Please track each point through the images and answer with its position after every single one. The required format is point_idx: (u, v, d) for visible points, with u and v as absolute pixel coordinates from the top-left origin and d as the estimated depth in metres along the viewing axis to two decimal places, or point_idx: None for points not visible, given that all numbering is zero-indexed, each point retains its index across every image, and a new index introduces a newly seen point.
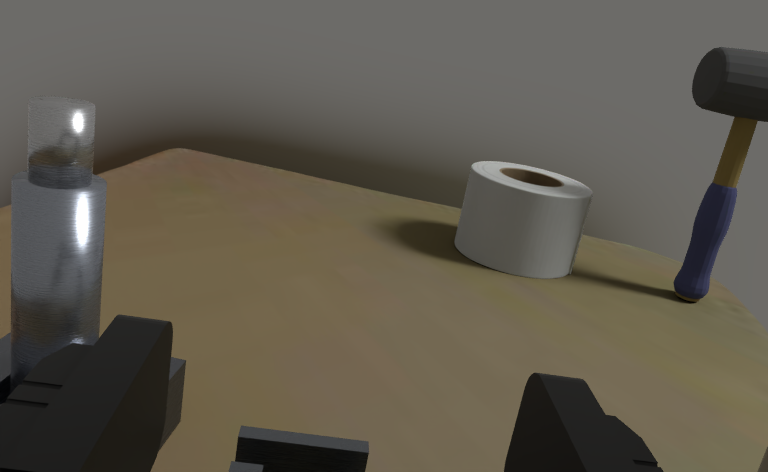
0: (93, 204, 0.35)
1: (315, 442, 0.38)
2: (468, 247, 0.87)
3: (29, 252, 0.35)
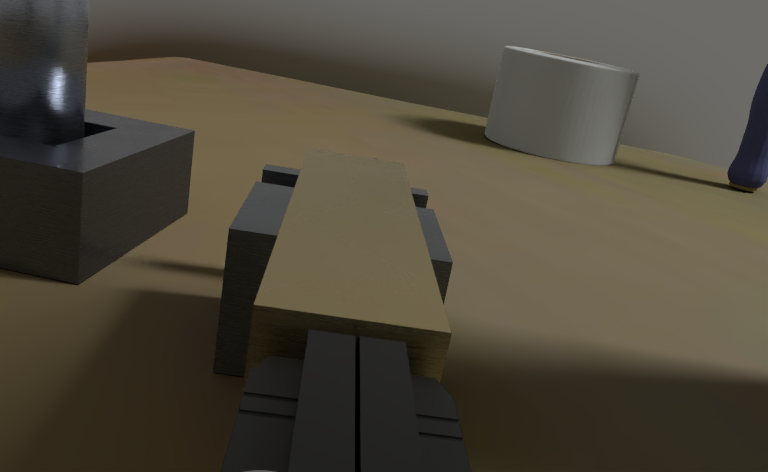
0: None
1: None
2: (501, 133, 0.79)
3: None
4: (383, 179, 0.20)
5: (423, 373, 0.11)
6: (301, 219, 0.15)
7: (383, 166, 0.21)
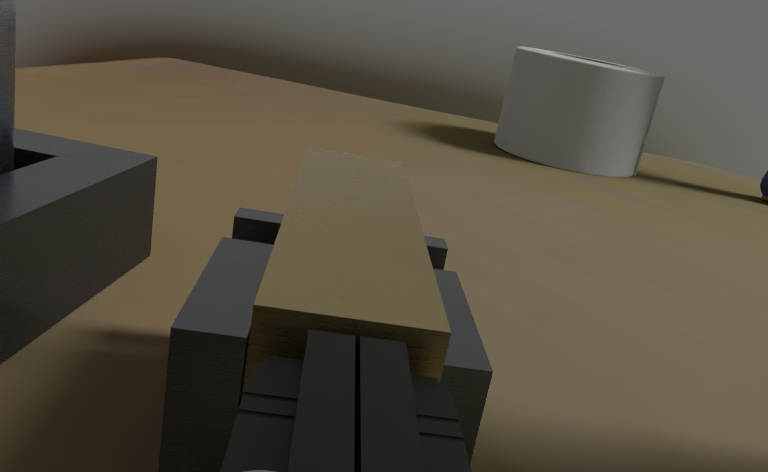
0: None
1: None
2: (513, 141, 0.72)
3: None
4: (382, 177, 0.20)
5: (423, 372, 0.11)
6: (301, 218, 0.15)
7: (382, 164, 0.21)
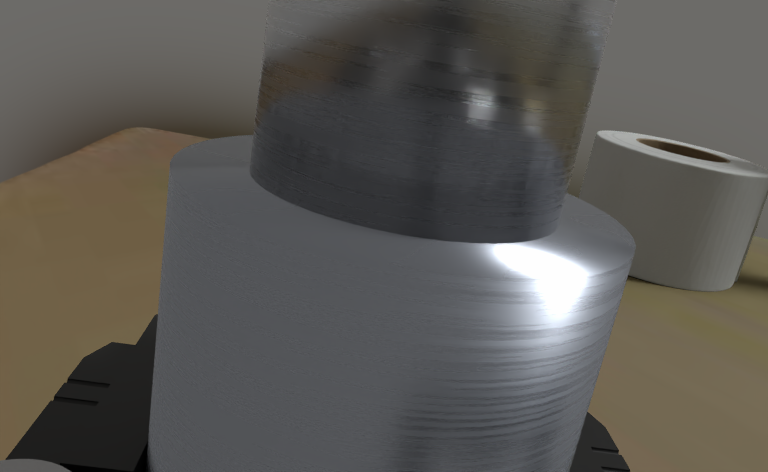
0: None
1: None
2: None
3: None
4: None
5: None
6: None
7: None
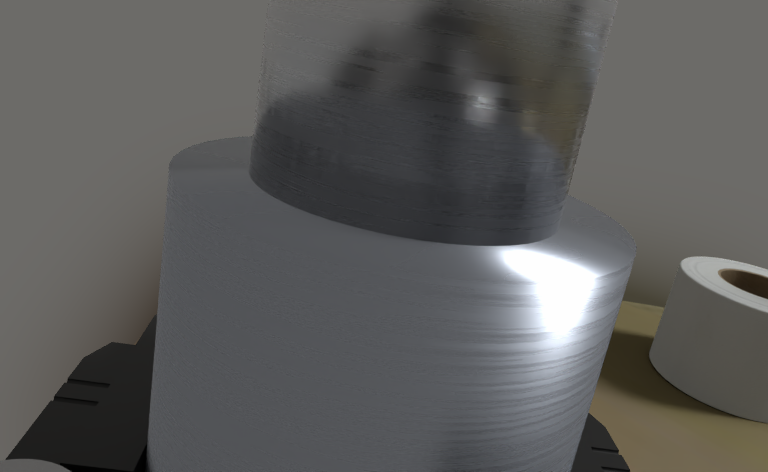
0: None
1: None
2: (695, 385, 0.66)
3: None
4: None
5: None
6: None
7: None
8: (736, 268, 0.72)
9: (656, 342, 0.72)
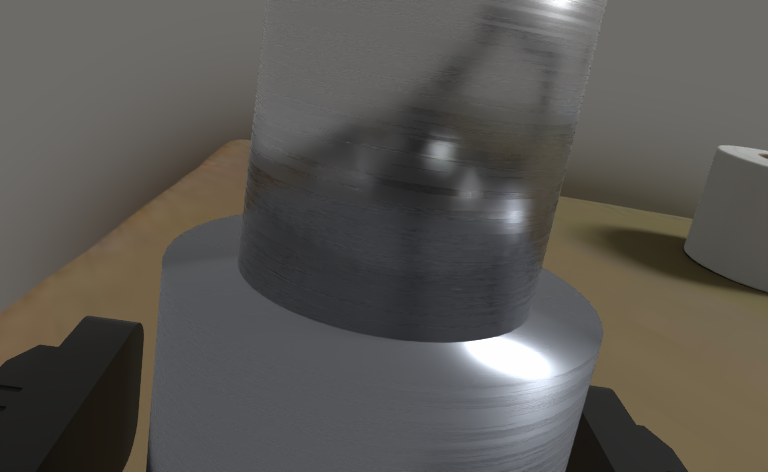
0: None
1: None
2: (737, 267, 0.62)
3: None
4: None
5: None
6: None
7: None
8: None
9: (692, 232, 0.68)
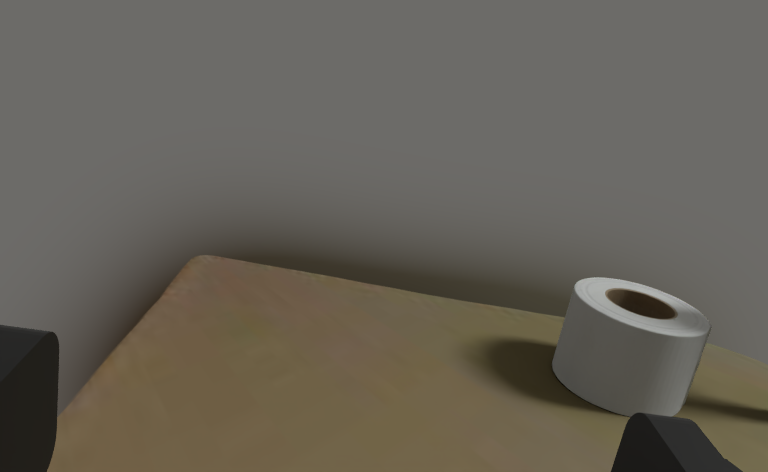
0: None
1: None
2: (581, 387, 0.79)
3: None
4: None
5: None
6: None
7: None
8: (624, 288, 0.85)
9: (556, 351, 0.85)
